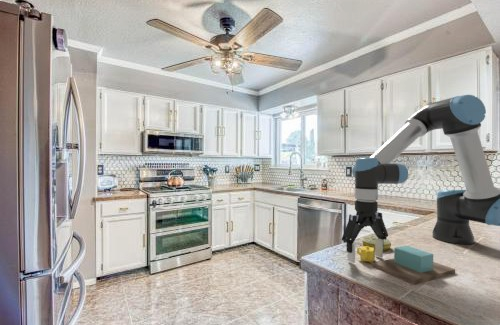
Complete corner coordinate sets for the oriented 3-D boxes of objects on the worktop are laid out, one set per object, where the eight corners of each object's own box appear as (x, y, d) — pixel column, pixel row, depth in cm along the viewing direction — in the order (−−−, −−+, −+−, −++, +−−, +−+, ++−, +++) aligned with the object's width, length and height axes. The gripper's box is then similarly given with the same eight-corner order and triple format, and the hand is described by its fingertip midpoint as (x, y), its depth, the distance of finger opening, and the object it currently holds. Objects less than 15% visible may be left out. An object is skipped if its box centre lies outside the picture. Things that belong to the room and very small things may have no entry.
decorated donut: (371, 242, 113) (372, 233, 113) (396, 249, 104) (396, 239, 104) (357, 245, 108) (357, 236, 108) (381, 253, 99) (381, 243, 99)
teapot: (359, 255, 96) (359, 241, 96) (375, 258, 93) (375, 244, 93) (355, 262, 90) (355, 247, 90) (373, 265, 86) (373, 250, 86)
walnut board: (412, 257, 94) (412, 254, 94) (455, 273, 81) (455, 269, 81) (373, 266, 86) (373, 262, 86) (414, 284, 73) (414, 280, 73)
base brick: (406, 259, 89) (406, 245, 89) (433, 269, 81) (433, 254, 81) (394, 262, 86) (394, 247, 86) (420, 272, 78) (421, 256, 78)
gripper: (381, 197, 100) (380, 250, 100) (331, 200, 90) (331, 259, 90) (399, 200, 93) (398, 257, 93) (347, 203, 83) (346, 268, 83)
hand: (365, 258), depth 91 cm, fingers open, 13 cm apart
